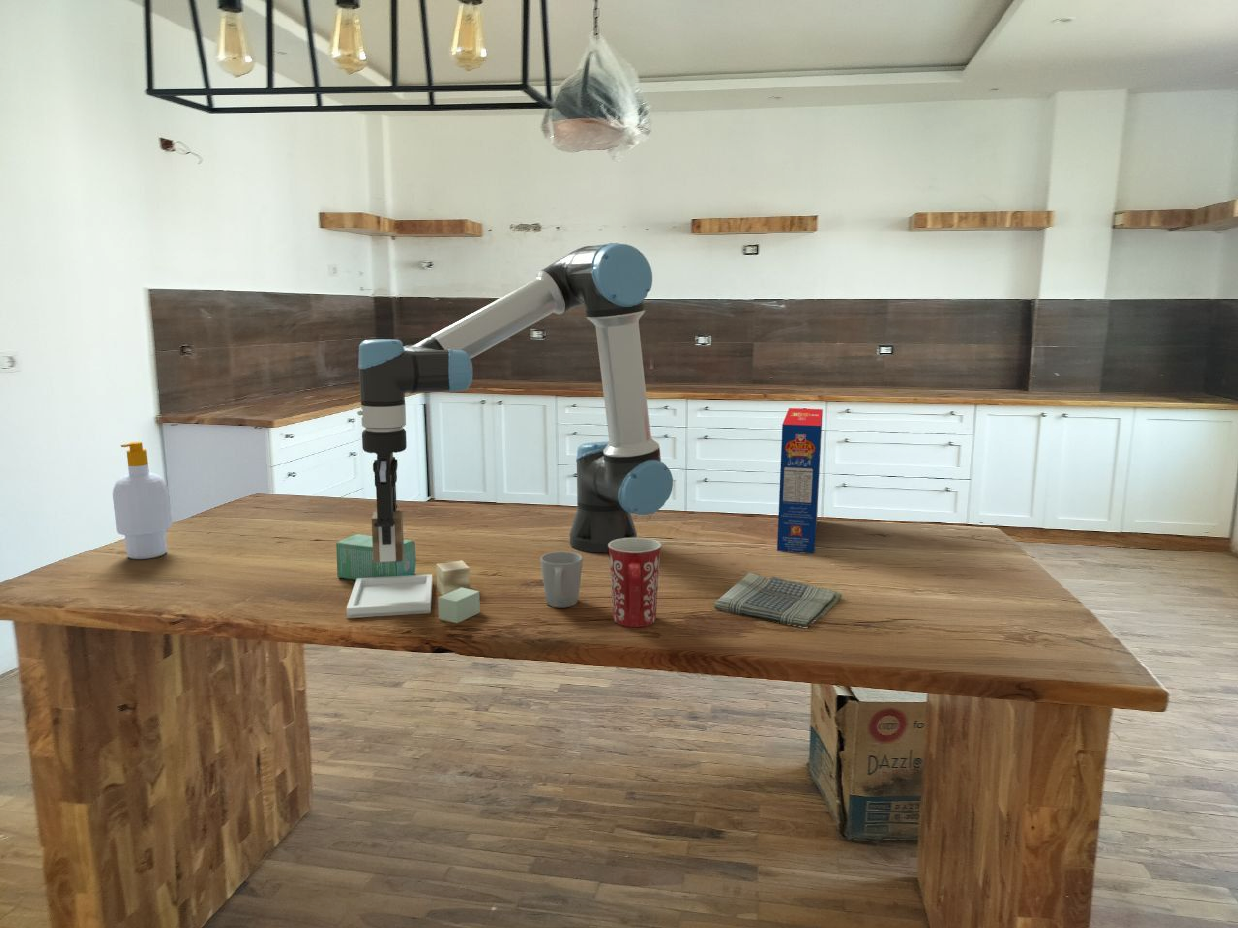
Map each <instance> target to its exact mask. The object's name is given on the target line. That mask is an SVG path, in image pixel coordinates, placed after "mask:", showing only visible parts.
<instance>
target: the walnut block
mask: <svg viewBox="0 0 1238 928" xmlns="http://www.w3.org/2000/svg"><path fill="white" fill-rule="evenodd" d="M372 514H373V515H372V516H371V536H372V542H373V563H377V562H380V552H379V529H378V527H374V523H377V511H373V513H372ZM403 517H404V513H403V510H396V511H393V521H394V525H395V548H396V561H390V562H402V561H403V556H404V540H405V539H404V538H405V537H404V518H403Z"/></svg>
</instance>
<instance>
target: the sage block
mask: <svg viewBox="0 0 1238 928" xmlns="http://www.w3.org/2000/svg"><path fill="white" fill-rule="evenodd" d="M437 599H438V600H437V601H438V619H439V620H443V621H447V622H451V623H454V624H459V623H460V622H463V621H465V620H467V619H469V618H471V617H473V616H475V615H477V614H479V613H480V612H481V609H480V607H481V604H480V603H481V602H480V591H479V590H475V589H471V588H470V589H467V588H459V589H457V590H454V591H452V592H450V593H447V594H445V595H440V596H438V597H437Z"/></svg>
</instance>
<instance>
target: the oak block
mask: <svg viewBox="0 0 1238 928" xmlns="http://www.w3.org/2000/svg"><path fill="white" fill-rule="evenodd" d="M470 568H471V567H469V566H468V565H467V563H465V561H464V560H462V559H461V560H455V561H447V562H441V563H436V568H435V569H436V589H437V590H438V592H439V593H440V594H441V596H443V595H445V594H447V593H450V592H452V591H454V590H457V589H459V588H467V589H471V569H470Z"/></svg>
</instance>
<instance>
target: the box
mask: <svg viewBox="0 0 1238 928" xmlns="http://www.w3.org/2000/svg"><path fill="white" fill-rule="evenodd" d="M415 545H416V543H415V541H414V540H412V539H404V556H403V561H402V562H377V563H373V542H372V535H368V534H360V533H356V534H354V535H351V536H350V537H349V536H348V537H347V538H344V539H342V540H339V541H337V542H336V571H337V578H340V579H345V580H346V579H348V580H355V581H356V579H357V578H371V577H390V576H408V575H415V573H416V565H417V563H416V560H417V559H416V546H415Z"/></svg>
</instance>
